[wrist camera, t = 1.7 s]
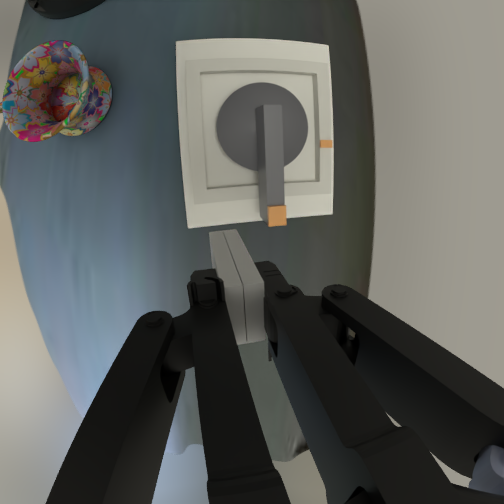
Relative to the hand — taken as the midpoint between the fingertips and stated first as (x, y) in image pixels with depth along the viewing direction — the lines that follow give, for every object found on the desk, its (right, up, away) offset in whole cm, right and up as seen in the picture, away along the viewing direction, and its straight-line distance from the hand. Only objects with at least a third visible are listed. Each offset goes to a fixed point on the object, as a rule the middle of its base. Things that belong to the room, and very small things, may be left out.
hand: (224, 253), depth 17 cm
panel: (+2, +14, +15) cm, 21 cm away
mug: (-20, +17, +9) cm, 28 cm away
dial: (+3, +12, +15) cm, 19 cm away
